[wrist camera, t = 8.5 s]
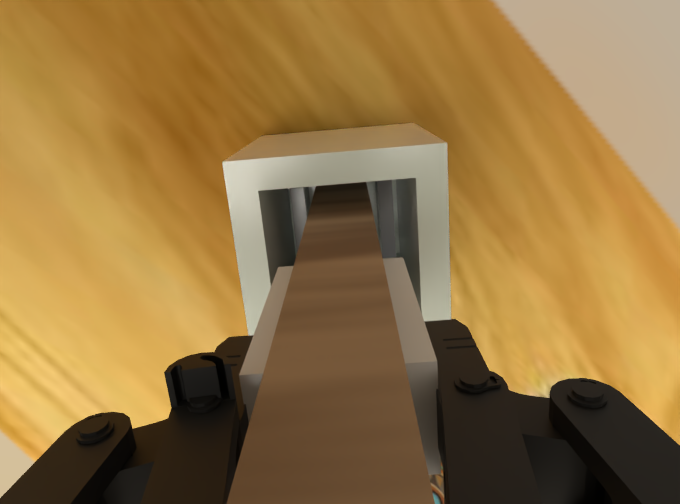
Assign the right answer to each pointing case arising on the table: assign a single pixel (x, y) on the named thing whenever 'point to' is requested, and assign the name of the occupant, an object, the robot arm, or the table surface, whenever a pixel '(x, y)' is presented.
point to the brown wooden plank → (335, 376)
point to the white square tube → (340, 168)
